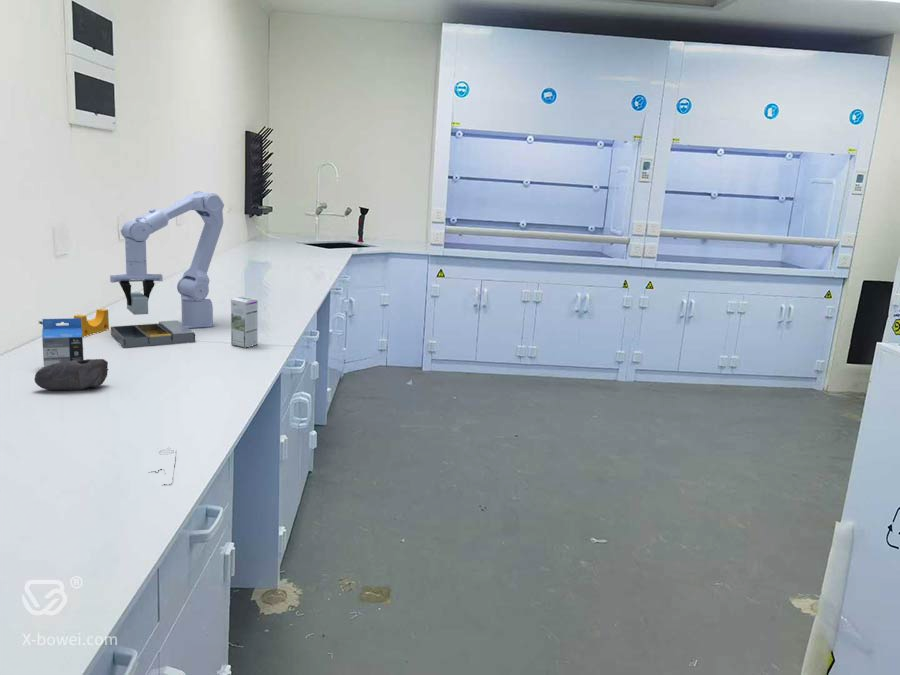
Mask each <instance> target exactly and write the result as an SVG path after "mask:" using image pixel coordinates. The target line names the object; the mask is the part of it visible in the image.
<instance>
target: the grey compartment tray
mask: <svg viewBox="0 0 900 675" xmlns="http://www.w3.org/2000/svg"><path fill="white" fill-rule="evenodd" d="M180 322H181V321H179V320H176V319H175V320H164V321H163V320H162V321H158V323H145V324H132V325H131V324H130V325H129V324H128V325H118V326H116V325H114V326H110V335H111V337H112V338H113V339H114V340H116V342H117V341H118V342H119V343H120V344H121V347H122V348H124V349H127V348H142V347H150V346H151V347H152V346H164V344H165V345H174V344H175V343H177V344H186V343H187V342H189V343H195V342H196V333H195V332H193V331H192V329H191V328H187V327H186V326H185V325H183V324H182V323H180ZM119 343H118V344H119ZM120 344H119V345H120Z"/></svg>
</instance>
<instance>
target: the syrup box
mask: <svg viewBox="0 0 900 675" xmlns="http://www.w3.org/2000/svg"><path fill="white" fill-rule="evenodd" d="M258 306H259V305H258V299H257V298H251V297H245V296H238V297H234V298H231V299H230V312H231V313H230V317H231V318H230V319H231V322H230V327H231V328H230V329H231V333H230V336H231V340H230V341H231V346H233V345H234V346H235V347H238V346H239V347H238V348H242V347H244V348H243V349H247V348H246V347H249V348H251V347H250V346H252V345H256V344H257V345H258V343H259V342H258V340H259V339H258V337H259V335H258V324H259V323H258V318H259V317H258V314H259V313H258V311H259V308H258ZM257 345H256V346H257Z"/></svg>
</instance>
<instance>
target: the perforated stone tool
mask: <svg viewBox="0 0 900 675" xmlns="http://www.w3.org/2000/svg"><path fill="white" fill-rule="evenodd" d="M108 364H109V363H108V361H107V360H106V359H103V358H96V359H95V358H94V359H93V358H91V359H90V358H87V359H84V360H74V361H66V362H61V363H56V364H52V365H49V366H46V367H44V366H43V367H42V368H41V369H39V370H37V371H36V372H35V375H34V383H35V384H36V385H37V386H38V387H40V388H41V389H44V390H50V391H58V390H62V391H81V390H82V391H83V390H84V389H88V388H91V389H95V388H96V389H97V388H99V387H101V386H102V385H103V383H104V382H105V381H106V379H107V377H108V372H109V368H108Z"/></svg>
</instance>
